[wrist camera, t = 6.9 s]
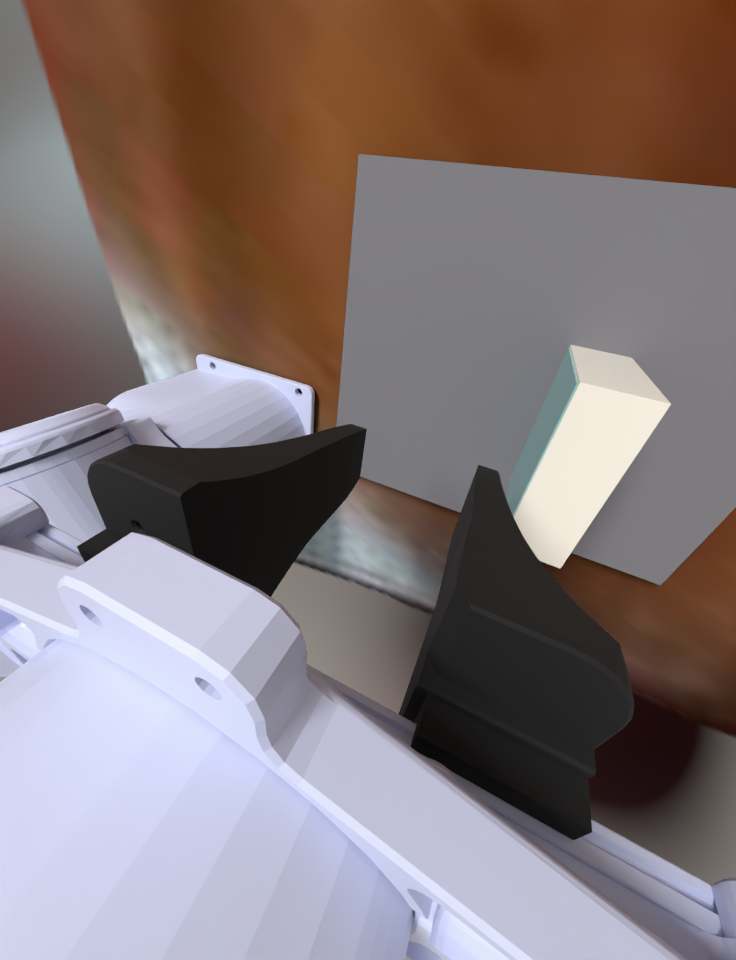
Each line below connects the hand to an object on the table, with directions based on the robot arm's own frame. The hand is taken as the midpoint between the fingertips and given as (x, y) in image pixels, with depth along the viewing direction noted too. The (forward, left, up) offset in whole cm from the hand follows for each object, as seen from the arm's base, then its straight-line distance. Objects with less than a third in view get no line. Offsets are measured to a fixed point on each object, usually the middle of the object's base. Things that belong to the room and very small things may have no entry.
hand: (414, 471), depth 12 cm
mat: (+3, +1, -9) cm, 9 cm away
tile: (+5, 0, -8) cm, 10 cm away
